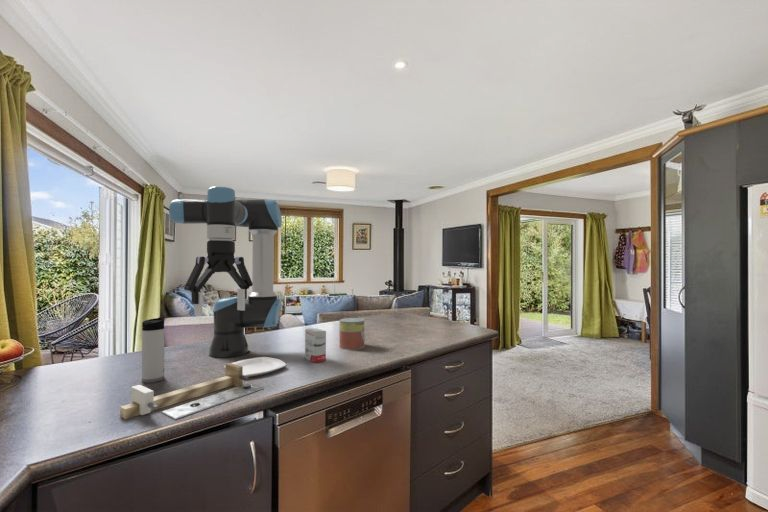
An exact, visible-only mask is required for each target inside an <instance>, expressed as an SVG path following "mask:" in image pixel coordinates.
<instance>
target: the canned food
mask: <svg viewBox="0 0 768 512" xmlns="http://www.w3.org/2000/svg"><path fill="white" fill-rule="evenodd" d="M339 348H340V350H341V349H342V350H347V351H352V350H353V351H354V350H361V349H364V348H365V319H364V318H361V317H346V318H345V317H344V318H340V319H339Z"/></svg>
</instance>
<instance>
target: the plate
mask: <svg viewBox="0 0 768 512" xmlns="http://www.w3.org/2000/svg"><path fill="white" fill-rule="evenodd" d="M231 363H232V364H235V365H239V366H242V367H243V376H246V377H248V378H250V377H258V376H262V375H266V374H269V373H273V372H276V371H279V370H280V369H281V368H284V367H287V364H286V363H285V362H284V361H283V360H281V359H278V358H275V357H268V356H260V357H259V356H257V357H252V358H246V359H240V360H238V361H234V362H231ZM223 366H224V368H225V364H224V365H223Z"/></svg>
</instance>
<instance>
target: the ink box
mask: <svg viewBox="0 0 768 512" xmlns="http://www.w3.org/2000/svg"><path fill="white" fill-rule="evenodd" d="M304 332H305V333H304V335H305V336H304V339H305V340H304V341H305V342H304V359H305V360H308V361H310V362H312V363H314V364H316V363H322V362H326V361H327V358H326V357H327V349H326V348H327V345H326V344H327V331H326V330H323V329H320V328H317V327H316V328H315V327H314V328H313V327H312V328H305V330H304Z"/></svg>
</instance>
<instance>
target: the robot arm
mask: <svg viewBox="0 0 768 512" xmlns="http://www.w3.org/2000/svg"><path fill="white" fill-rule="evenodd" d="M206 195H207V196H206V199H173V200H172V201H171V202H170V204H169V205H168V206H169V207H168V214H169V217H170V219H171V221H172V222H173V223H175V224H182V225H183V224H184V225H185V224H187V225H188V224H191V225H192V224H206V239H207V242H206V253H207V256H206V257H205V256H197V257H196V258H195V264H194V266H193V268H192V270H191V273H190V275H189V277H188V279H187V281H186V283H185V285H184V287H183V289H184V291H188V292H190V293H191V304H192V305H193V307H194V308H193V310H194V313H193V315H194V316H196V317H203V292H202V291H201V290H202V289H203V287H204V286H205V285H206V283H208V282H209V280H210V278H211V277H212V276H213V274H215V273H227V274H229V276H230V277H231V278H232V279H233V281H234V282H235V283H236V285H237V287H239V288H237V290H236V291H237V294H236V296H232V297H231V296H230V297H226V298H220V299H217V300H216V301H215V302H214V304H213V312H212V313H213V338H212V339H211V340H212V341H211V342H210V347H209V349H208V356H210V357H212V358H233V357H237V356H242V355H245V354H246V353H248V352H249V344H248V342H247V339H246V335H245V329H246V328H249V329H251V328H264V329H266V328H273V327H276V326H277V324H278V322H279V320H280V317H281V311H282V300H281V299H279V298H278V294H277V293H276V292H275V291H274V259H275V258H274V253H275V252H274V251H275V250H274V248H275V247H274V246H275V244H274V241H275V240H274V237H275V234H277V233H278V229H279V228H280V227H282V223H283V222H282V220H283V219H282V213H281V209H280V205H279V203H278V202H277V201H276V200H273V199H267V198H265V199H243V198H241V199H237V198H236V192H235V190H234V189H233V188H232V187H226V186H211V187H209V188H208V189H207V194H206ZM236 227H239V228H240V227H242V228H248V232H249V233H251V235H252V248H251V249H252V260H251V261H252V263H251V264H252V267H251V269H252V271H251V277H252V278H251V277H250V274H249V272H248V269H247V267H246V265H245V259H244V257H243V256H236V257H235V252H236V243H235V242H236V241H233V240H235V239H236ZM206 264H207V267H206V268H205V270H204V272H203V273H202V271H203V269H204V267H205V265H206ZM234 264H235V266H236V267H235V266H234ZM237 270H238V271H237ZM200 275H201V276H200ZM250 287H251V292H250V293H249V294H248V290H249V289H250ZM247 294H248V295H247Z"/></svg>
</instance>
